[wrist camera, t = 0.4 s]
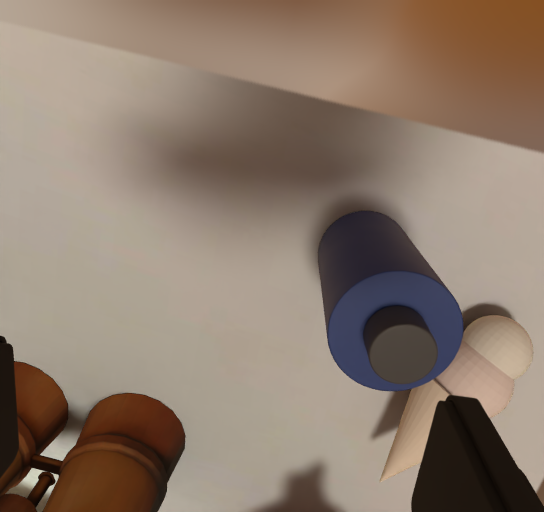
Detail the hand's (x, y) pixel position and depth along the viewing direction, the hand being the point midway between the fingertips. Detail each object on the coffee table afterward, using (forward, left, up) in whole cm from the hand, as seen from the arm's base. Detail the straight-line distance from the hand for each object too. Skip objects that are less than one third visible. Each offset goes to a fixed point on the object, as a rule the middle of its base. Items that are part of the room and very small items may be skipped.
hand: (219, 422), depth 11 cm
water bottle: (-3, +7, -24) cm, 25 cm away
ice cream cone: (-2, +19, -24) cm, 31 cm away
